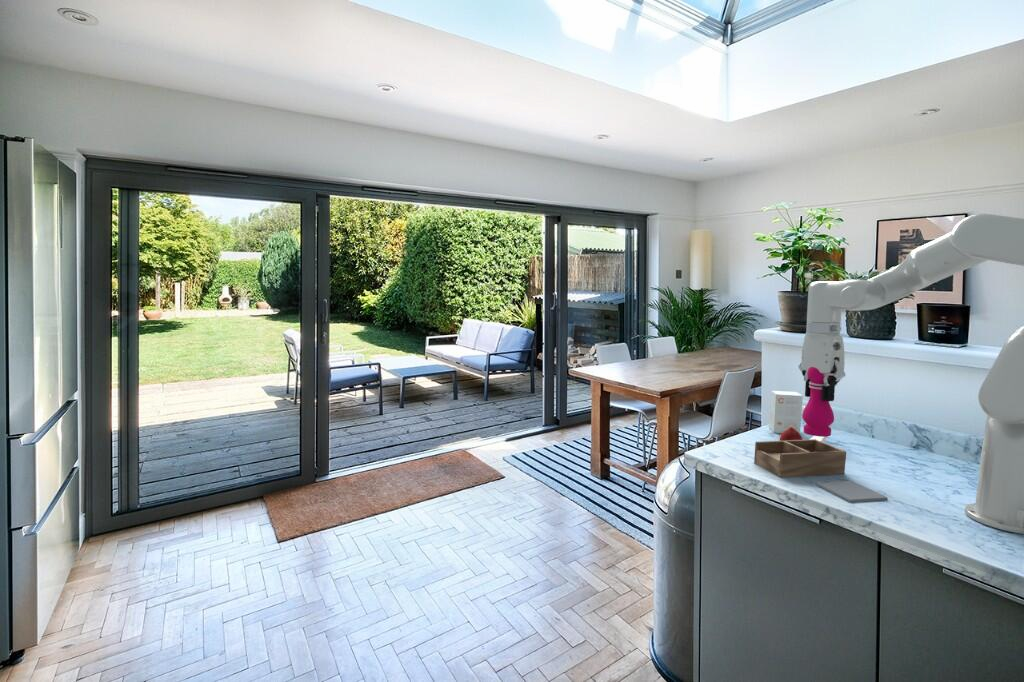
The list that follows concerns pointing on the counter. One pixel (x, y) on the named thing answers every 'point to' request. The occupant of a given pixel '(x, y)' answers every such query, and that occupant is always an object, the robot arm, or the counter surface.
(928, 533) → the counter surface
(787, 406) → the small box
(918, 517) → the counter surface
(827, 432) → the pepper mill
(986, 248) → the robot arm
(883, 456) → the counter surface
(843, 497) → the mat
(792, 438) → the onion
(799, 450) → the box
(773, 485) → the counter surface
